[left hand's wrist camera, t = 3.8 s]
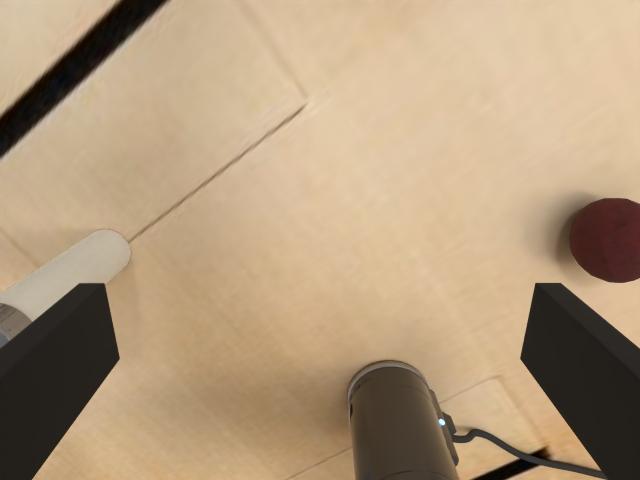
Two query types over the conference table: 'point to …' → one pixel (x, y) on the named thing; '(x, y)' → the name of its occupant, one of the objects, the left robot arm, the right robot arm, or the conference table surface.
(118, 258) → the white cylindrical bottle
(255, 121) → the conference table surface
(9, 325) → the lid
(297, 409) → the conference table surface
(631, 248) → the dark red ball
